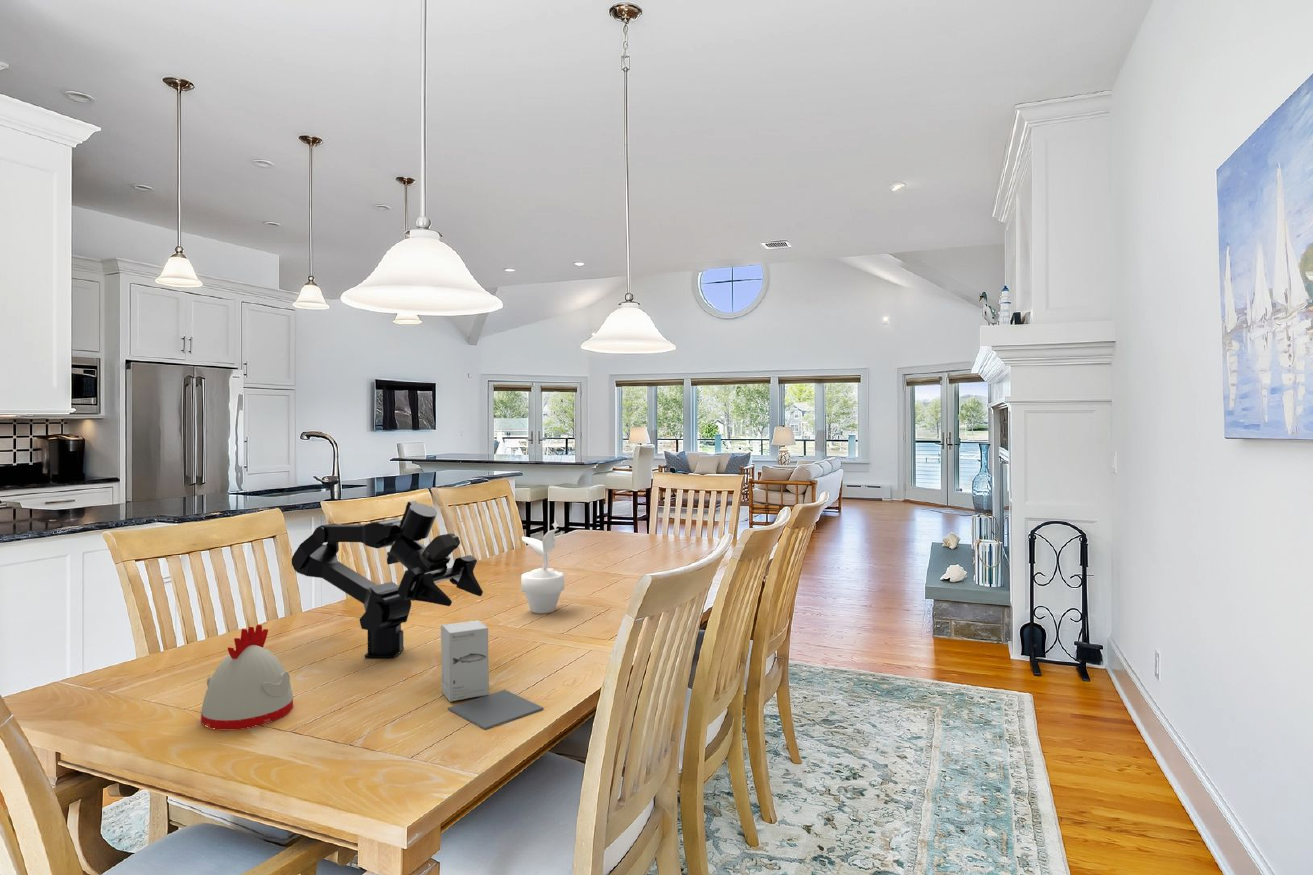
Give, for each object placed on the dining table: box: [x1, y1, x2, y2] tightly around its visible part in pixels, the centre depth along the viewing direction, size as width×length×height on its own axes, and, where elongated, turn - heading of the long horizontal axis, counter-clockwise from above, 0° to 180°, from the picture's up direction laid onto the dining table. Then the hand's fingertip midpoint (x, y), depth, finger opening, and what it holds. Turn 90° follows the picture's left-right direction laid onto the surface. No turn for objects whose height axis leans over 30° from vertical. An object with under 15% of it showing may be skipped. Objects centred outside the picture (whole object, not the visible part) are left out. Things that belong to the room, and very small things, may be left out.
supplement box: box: [440, 620, 490, 703], centre depth 135 cm, size 7×7×13 cm
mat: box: [447, 689, 545, 730], centre depth 128 cm, size 12×12×1 cm
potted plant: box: [520, 518, 565, 615], centre depth 194 cm, size 13×12×25 cm
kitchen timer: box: [200, 624, 294, 730], centre depth 125 cm, size 14×14×15 cm
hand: (466, 598), depth 147 cm, fingers open, 9 cm apart
